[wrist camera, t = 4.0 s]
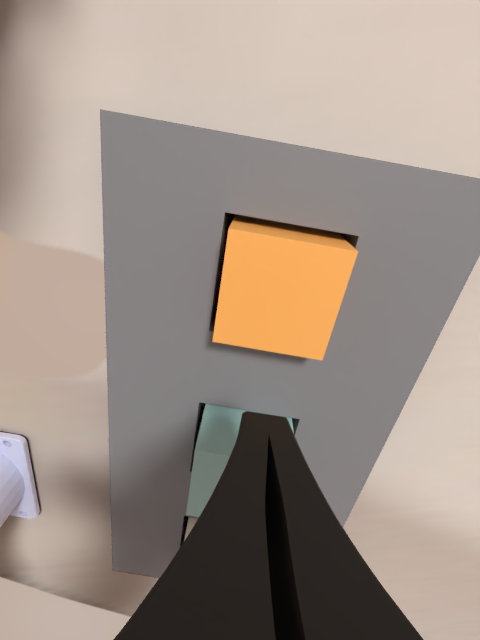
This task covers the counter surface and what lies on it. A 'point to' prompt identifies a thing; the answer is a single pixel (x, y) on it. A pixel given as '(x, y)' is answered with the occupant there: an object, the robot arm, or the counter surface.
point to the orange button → (281, 287)
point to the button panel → (246, 363)
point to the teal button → (213, 453)
